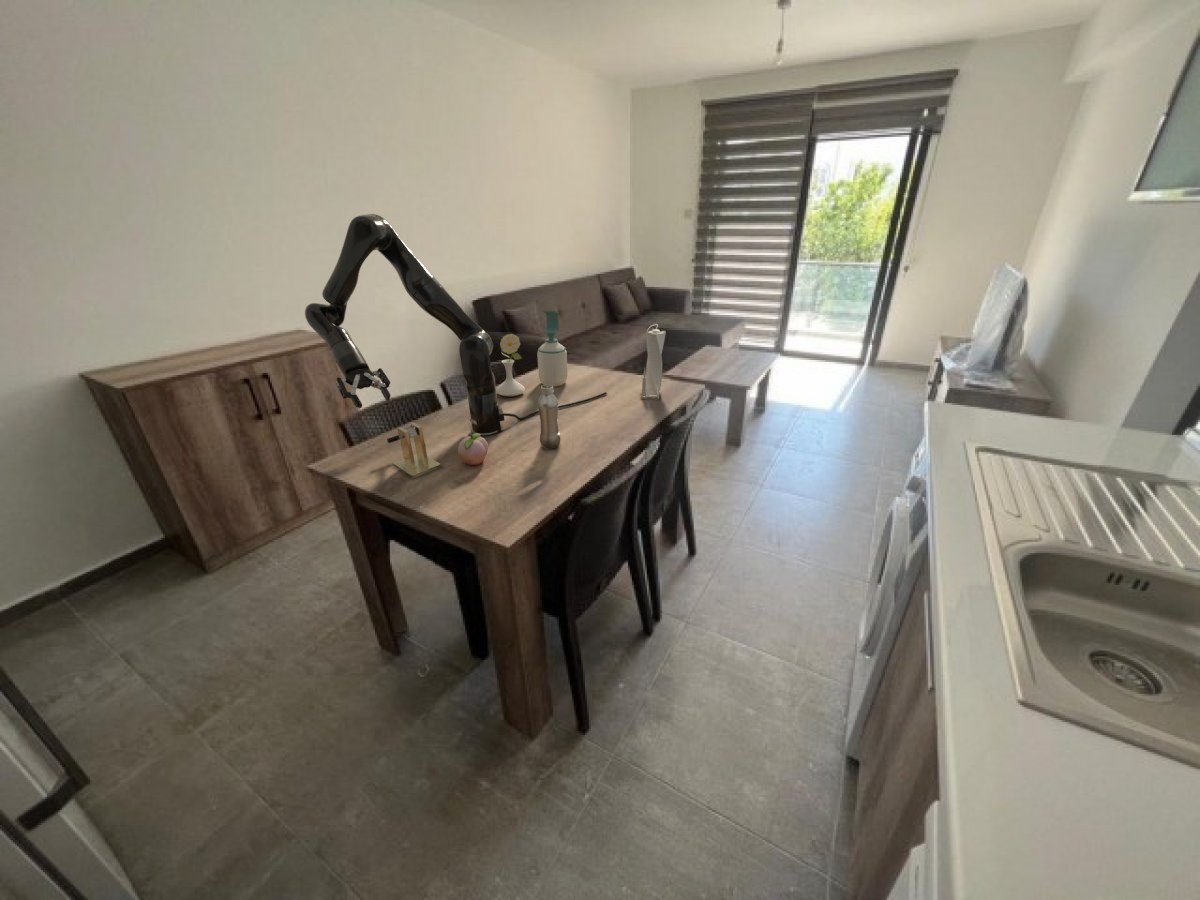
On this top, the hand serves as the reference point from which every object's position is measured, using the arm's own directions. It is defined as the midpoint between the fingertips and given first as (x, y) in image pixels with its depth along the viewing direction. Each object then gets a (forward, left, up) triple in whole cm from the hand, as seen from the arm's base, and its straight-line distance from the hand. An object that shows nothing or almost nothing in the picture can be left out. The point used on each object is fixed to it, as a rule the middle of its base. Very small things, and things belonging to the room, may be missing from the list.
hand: (374, 403), depth 145 cm
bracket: (-10, +17, -15) cm, 25 cm away
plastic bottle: (-50, +16, -15) cm, 55 cm away
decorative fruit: (-26, +21, -15) cm, 37 cm away
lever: (-8, +14, -7) cm, 18 cm away
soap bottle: (-65, -44, -15) cm, 80 cm away
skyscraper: (-99, -16, -15) cm, 101 cm away
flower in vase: (-46, -36, -15) cm, 60 cm away
